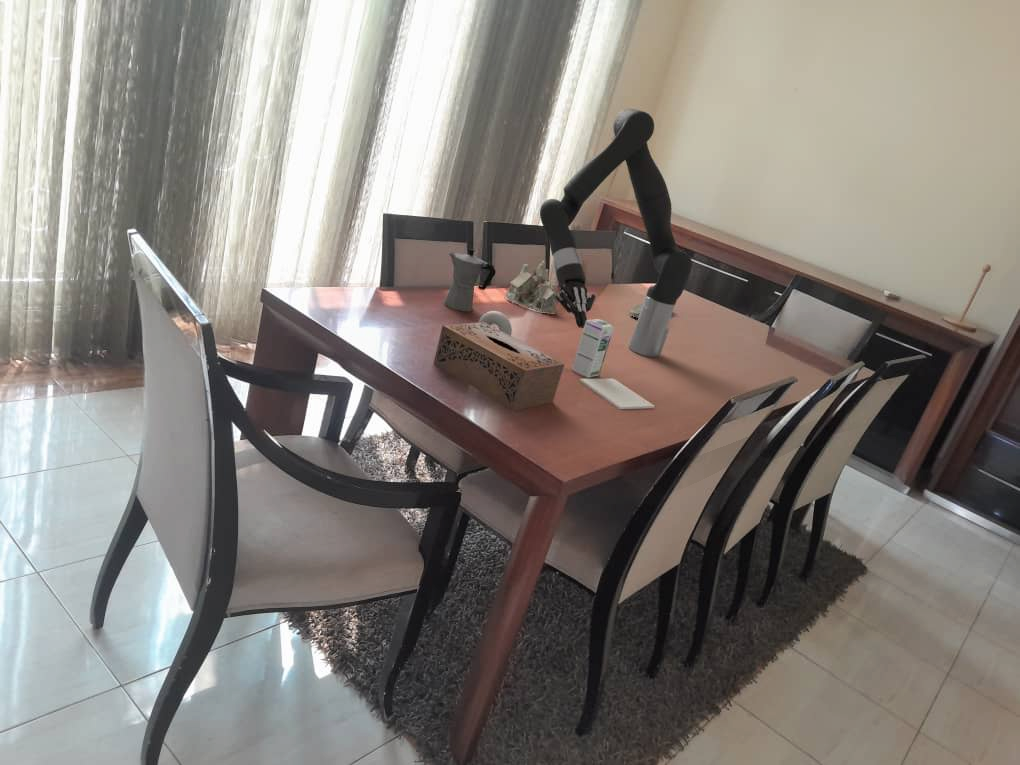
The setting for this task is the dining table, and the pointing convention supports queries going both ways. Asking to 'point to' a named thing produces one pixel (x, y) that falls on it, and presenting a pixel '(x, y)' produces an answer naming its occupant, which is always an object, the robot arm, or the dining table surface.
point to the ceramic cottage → (534, 290)
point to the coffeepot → (466, 280)
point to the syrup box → (592, 347)
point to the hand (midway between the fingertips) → (583, 326)
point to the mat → (617, 393)
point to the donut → (497, 321)
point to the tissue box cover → (498, 365)
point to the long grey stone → (636, 310)
